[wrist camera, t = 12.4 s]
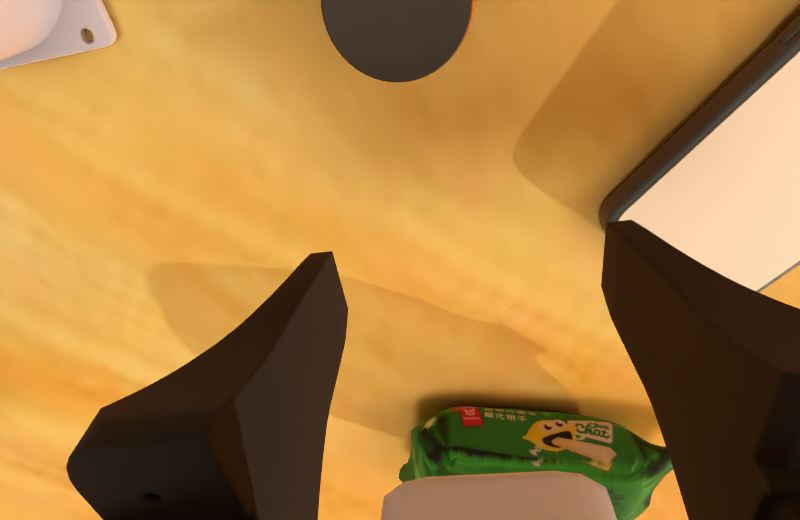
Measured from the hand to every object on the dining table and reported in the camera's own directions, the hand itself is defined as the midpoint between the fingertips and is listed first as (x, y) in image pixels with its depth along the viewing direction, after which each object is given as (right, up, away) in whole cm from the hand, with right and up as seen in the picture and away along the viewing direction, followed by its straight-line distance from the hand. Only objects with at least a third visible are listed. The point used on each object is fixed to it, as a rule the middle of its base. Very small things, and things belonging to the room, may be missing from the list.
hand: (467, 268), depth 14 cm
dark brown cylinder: (-2, +10, +4) cm, 11 cm away
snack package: (+6, -11, +19) cm, 22 cm away
